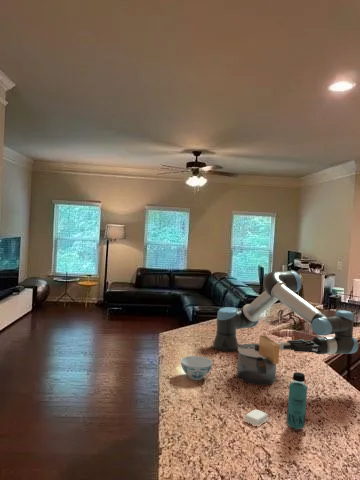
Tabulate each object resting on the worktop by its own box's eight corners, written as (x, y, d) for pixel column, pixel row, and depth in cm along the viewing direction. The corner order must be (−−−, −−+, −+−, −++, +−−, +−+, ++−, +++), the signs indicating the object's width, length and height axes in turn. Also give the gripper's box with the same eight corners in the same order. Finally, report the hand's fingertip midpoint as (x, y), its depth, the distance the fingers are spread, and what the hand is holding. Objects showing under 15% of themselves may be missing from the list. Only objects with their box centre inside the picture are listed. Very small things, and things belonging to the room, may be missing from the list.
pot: (235, 366, 198) (236, 343, 198) (271, 368, 197) (272, 345, 196) (240, 392, 166) (241, 365, 166) (282, 395, 165) (284, 368, 164)
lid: (232, 346, 191) (233, 328, 191) (267, 345, 195) (268, 327, 195) (255, 367, 163) (256, 345, 163) (295, 365, 167) (296, 344, 167)
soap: (254, 414, 148) (254, 406, 148) (270, 420, 143) (270, 413, 143) (241, 421, 141) (241, 414, 141) (257, 429, 137) (257, 421, 136)
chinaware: (215, 374, 185) (215, 358, 185) (207, 386, 171) (207, 369, 171) (185, 369, 190) (186, 354, 190) (175, 380, 176) (176, 363, 176)
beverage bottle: (283, 423, 141) (286, 370, 140) (301, 423, 141) (304, 370, 140) (290, 433, 134) (293, 377, 133) (308, 433, 135) (311, 377, 134)
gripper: (332, 358, 167) (282, 359, 163) (315, 348, 181) (268, 349, 176) (333, 341, 167) (283, 342, 163) (316, 333, 180) (269, 333, 176)
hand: (275, 346), depth 169 cm, fingers closed
